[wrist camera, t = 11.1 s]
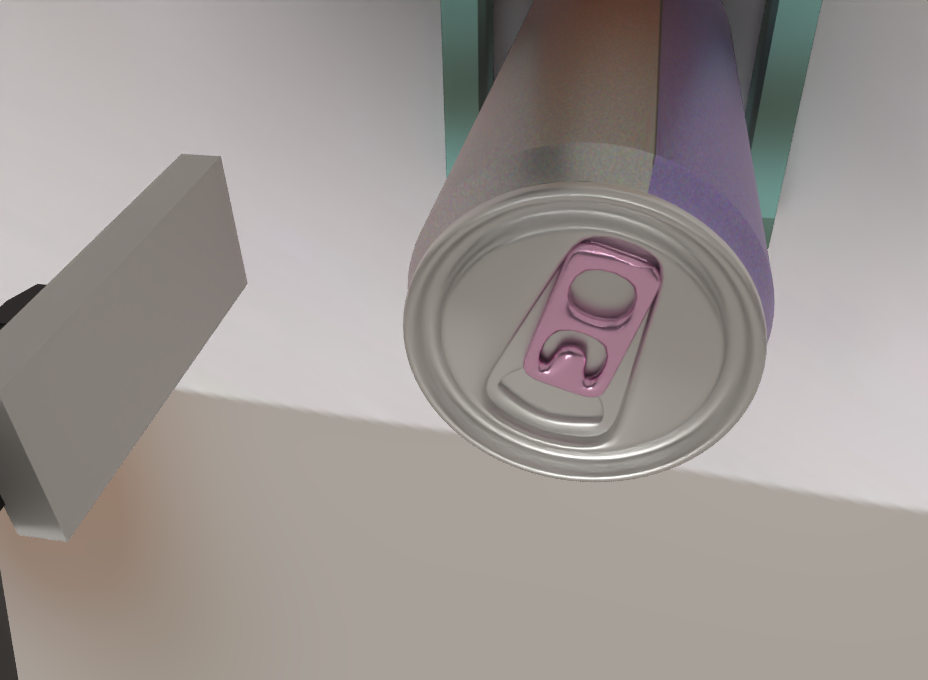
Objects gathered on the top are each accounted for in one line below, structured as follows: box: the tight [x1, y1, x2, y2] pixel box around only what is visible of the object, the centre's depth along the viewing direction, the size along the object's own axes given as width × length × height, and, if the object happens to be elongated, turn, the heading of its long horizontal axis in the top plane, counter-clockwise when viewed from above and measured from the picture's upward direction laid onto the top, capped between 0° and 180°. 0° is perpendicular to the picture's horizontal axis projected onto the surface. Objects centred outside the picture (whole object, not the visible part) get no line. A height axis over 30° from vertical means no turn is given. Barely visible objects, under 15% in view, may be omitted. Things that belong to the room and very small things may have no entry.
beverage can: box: [403, 0, 774, 482], centre depth 19 cm, size 6×6×15 cm
